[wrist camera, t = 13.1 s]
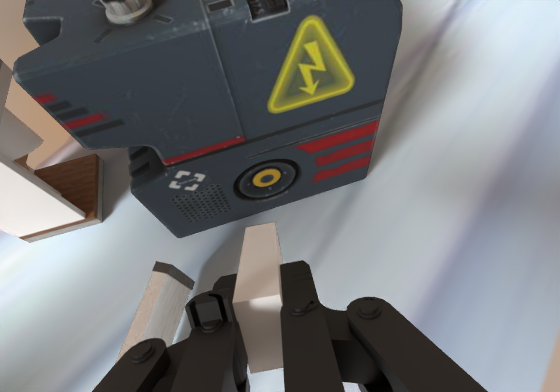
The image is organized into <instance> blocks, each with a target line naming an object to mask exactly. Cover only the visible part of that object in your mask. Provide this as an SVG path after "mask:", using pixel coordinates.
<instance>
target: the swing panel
mask: <svg viewBox="0 0 560 392" xmlns="http://www.w3.org/2000/svg"><path fill="white" fill-rule="evenodd" d="M152 271H153V274H152V276H151V279H150V281H149V283H148V286H147V288H146V291H145V293H144V295H143V298H142V300H141V303H140V305H139V307H138V310H137V312H136V315H135V317H134V319H133V322H132V324H131V327H130V329H129V332H128V334H127V336H126V339H125V341H124V344H123V346H122V348H121V351H120V353H119V356H118V358H117V360H116V363H117V362H118V360H119V359H120V358H121V357H122V356H123V355H124V353H125V352H127V351H128V350H129V349H130V348H131V347H132V346H134V345H136V344H137V343H139V342H141V341H144V340H146V339H150V338H160V339H163V340H164V341H165V343H166V346H167V347H168V346H171V345H172V342H173V340H174V337H175V334H176V331H177V328H178V325H179V322H180V320H181V317H182V314H183V311H184V308H185V305H186V303H187V300H188V297H189V294H190V291H191V290H192V289H193V286H194V283H195V281H193V280H192V279H191V278H189V277H188V276H187V275H185V274H184V273H183V272H181V271H180V270H179V269H177V268H176V267H175V266H173V265H171V264H167V263H162V262H157V261H156V263H155V266H154V268H153V270H152ZM116 363H115V364H116Z"/></svg>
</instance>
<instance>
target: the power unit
mask: <svg viewBox="0 0 560 392" xmlns="http://www.w3.org/2000/svg"><path fill="white" fill-rule="evenodd" d="M402 10H403V8H402V3H401V1H400V0H26V4H25V9H24V14H23V23H24V25H25V27H26V28H27V29H28V30H29V32H30V33H31V35H32V36H33V37H34V39H35V40H36V41H37V43H38V44H39V45H40V47H38V48H36V49H34V50H32V51H30V52H28V53H27V54H25V55H23V56H21V57H19V58H18V59H17V60H16V61H15V62H14V67H13V72H12V75H13V77H14V79H15V81H16V82H17V83H18V84H19V85H20V86H21V87H22V88H23V89H24V90H25V91H26V92H27V93H28V94H29V95H30V96H32V98H33V99H34V100H36V101H37V102H38V103H39V104H40V105H41V106H42V107H43V108H44V109H45V110H46V111H47V112H48V113H49V114H50V115H51V116H52V117H53V118H54V119H55V120H56V121H57V122H58V123H59V124H60V125H61V126H62V127H63V128H64V129H65V130H66V131H67V132H69V133H70V134H71V135H72V136H73V137H74V138H75V139H76V140H77V141H78V142H79V143H80V144H81V145H82V146H83V147H84V148H86V149H91V150H94V149H107V148H120V147H129V148H128V158H129V160H130V164H129V173H130V176H131V177H132V180H131V182H130V187H131V193H132V194H133V195H134V196H135V197H136V198H137V199H138V200H139V201H140V202H141V203H142V204H143V205H144V206H145V207H146V208H147V209H148V210H149V211H150V212H151V213H152V214H153V215H154V216H155V217H156V218H157V219H158V220H159V221H160V222H162V223H163V224H164V225H165V226H166V227H167V228H168V229H169V230H170V231H171V232H172V233H173V234H174V235H175V236H176V237H177V238H182V237H185V236H188V235H191V234H194V233H197V232H200V231H204V230H207V229H210V228H213V227H216V226H219V225H222V224H225V223H228V222H231V221H235V220H238V219H241V218H244V217H247V216H250V215H253V214H256V213H259V212H263V211H266V210H269V209H272V208H275V207H278V206H281V205H284V204H287V203H291V202H294V201H297V200H300V199H303V198H306V197H309V196H312V195H315V194H319V193H322V192H325V191H328V190H331V189H334V188H337V187H340V186H343V185H347V184H350V183H353V182H356V181H359V180H362V179H364V178H365V177H366V174H367V170H368V166H369V162H370V158H371V154H372V150H373V145H374V141H375V137H376V133H377V129H378V125H379V121H380V117H381V113H382V108H383V104H384V100H385V96H386V92H387V88H388V84H389V80H390V76H391V71H392V67H393V63H394V59H395V55H396V51H397V47H398V43H399V39H400V34H401V30H402Z"/></svg>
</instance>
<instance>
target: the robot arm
mask: <svg viewBox="0 0 560 392" xmlns="http://www.w3.org/2000/svg"><path fill="white" fill-rule="evenodd" d="M185 309H186V312H187V315H188V319H189V322H190V325H191V328H192V330H191V333H190V336H189V337H188V338H187V339H185V340H183V341H181V342H178V343H176V344H173V345H171V346H168V347H167V346H166V343H165V341H164V340H163V339H160V338H150V339H146V340H144V341H141V342H139V343H137V344H136V345H134V346H132V347H131V348H130V349H129V350H128V351H127V352H125V353H124V355H123V356H122V357H121V358H120V359H119V360H118V362H117V363H116V364H115V365H114V366H113V367H112V369H111V370H110V371H109V372H108V373H107V374H106V376H105V377H104V378H103V379H102V380H101V382H100V383H99V384H98V385H97V386H96V387H95V389H94V390H93V391H92V392H250V384H249V379H248V376H247V363H248V365H249V369H250V373H256V372H262V371H267V370H273V369H278V368H283V369H284V386H285V392H345V390H344V387H343V383H342V382H350V383H357V384H358V386H359V389H360V391H361V392H488V391H486V390H485V389H484V388H483V387H482V386H481V385H480V384H479V383H478V382H476V381H475V380H474V379H473V378H472V377H471V376H470V375H469V374H467V373H466V372H465V371H464V370H463V369H462V368H461V367H460V366H459V365H457V364H456V363H455V362H454V361H453V360H452V359H451V358H450V357H448V356H447V355H446V354H445V353H444V352H443V351H442V350H441V349H440V348H438V347H437V346H436V345H435V344H434V343H433V342H432V341H431V340H429V339H428V338H427V337H426V336H425V335H424V334H423V333H422V332H421V331H419V330H418V329H417V328H416V327H415V326H414V325H413V324H412V323H410V322H409V321H408V320H407V319H406V318H405V317H404V316H403V315H401V314H400V313H399V312H398V311H397V310H396V309H395V308H394V307H393V306H391V305H390V304H389V303H388V302H386V301H385V300H383V299H380V298H376V297H363V298H358V299H356V300H354V301H352V302H351V303H350V304H349V305H348V306H347V311H339V310H332V309H329V308H327V307H325V306H323V305H322V304H321V303H320V301H319V299H318V296H317V292H316V288H315V285H314V281H313V277H312V273H311V270H310V266H309V265H308V264H307V263H306V262H304V261H303V260H302V261H297V262H291V263H286V264H283V260H282V255H281V250H280V245H279V240H278V235H277V230H276V225H275V222H272V223H267V224H262V225H256V226H251V227H246V230H245V235H244V241H243V246H242V252H241V258H240V263H239V269H238V274H233V275H227V276H222V277H220V278H219V279H218V281H217V282H216V283H215V284H214V287H213V290H212V291H208V292H205V293H201V294H199V295H197V296H195V297H194V298H192V299H191V300H190V301H189V302H188V303H187V304H186V306H185Z"/></svg>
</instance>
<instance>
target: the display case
mask: <svg viewBox="0 0 560 392" xmlns="http://www.w3.org/2000/svg"><path fill="white" fill-rule="evenodd" d="M12 72H13V71H12V70H11V69H10V68H9V67H8V66H7V65H6V64H5V63H4V62H3V61H2V60H1V59H0V229H1V230H3V231H5V232H7V233H9V234H12V235H14V236H16V237H18V238H20V239H23V240H25V241H27V242H29V243H30V242H34V241H38V240H41V239H45V238H48V237H52V236H55V235H59V234H63V233H66V232H70V231H73V230H77V229H80V228H84V227H88V226H91V225H95V224H98V223H102V207H103V164H104V161H103V160H102V159H101V158H100V157H99V156H98V155H97V154H93V155H90V156H86V157H82V158H78V159H75V160H71V161H67V162H64V163H60V164H56V165H53V166H49V167H45V168H42V169H38V170H33V169H32V168H30V167H29V166H27V164H26V160H27V157H28V154H29V153H30V152H32V151H33V150H35V149H36V148H38V147H39V146H40V145H41V144H42V142H43V139H42V138H41V137H40V136H38V135H37V134H36V133H35V132H34V131H32V130H31V129H30V128H29V127H27V125H25V124H24V123H23V122H22V121H21V120H20V119H18V118H17V117H16V116H15V115H14V114H12V113H11V112H10V111H9V110H8V109H7V108H6V107H5V103H6V99H7V94H8V90H9V86H10V82H11V78H12Z"/></svg>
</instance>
